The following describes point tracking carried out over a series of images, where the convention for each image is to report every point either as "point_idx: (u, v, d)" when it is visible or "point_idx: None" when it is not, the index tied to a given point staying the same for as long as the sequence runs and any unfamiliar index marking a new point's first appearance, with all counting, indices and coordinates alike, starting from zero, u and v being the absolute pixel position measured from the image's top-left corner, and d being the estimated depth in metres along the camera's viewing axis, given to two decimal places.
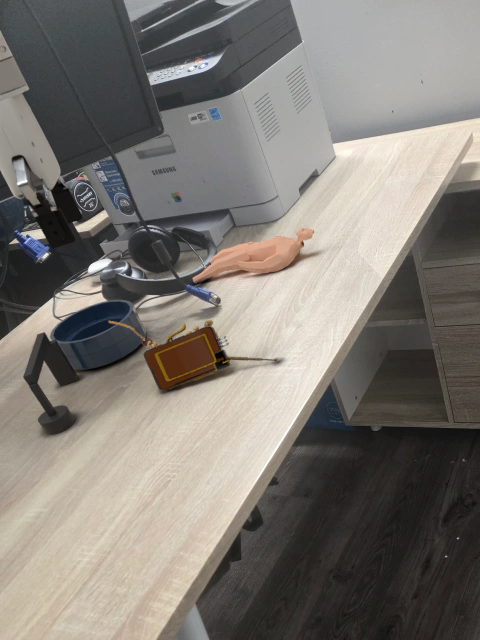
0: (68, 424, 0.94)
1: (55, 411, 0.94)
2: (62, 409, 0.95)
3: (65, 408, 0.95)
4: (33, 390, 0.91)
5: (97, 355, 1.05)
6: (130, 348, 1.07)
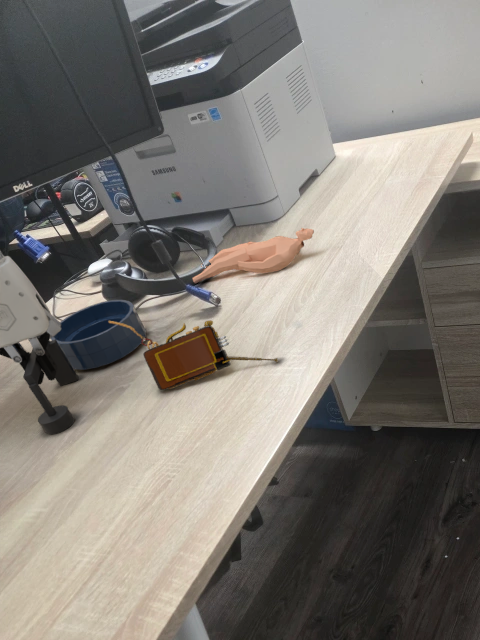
0: (68, 424, 0.94)
1: (55, 411, 0.94)
2: (61, 409, 0.95)
3: (65, 408, 0.95)
4: (33, 390, 0.91)
5: (97, 355, 1.05)
6: (130, 348, 1.07)
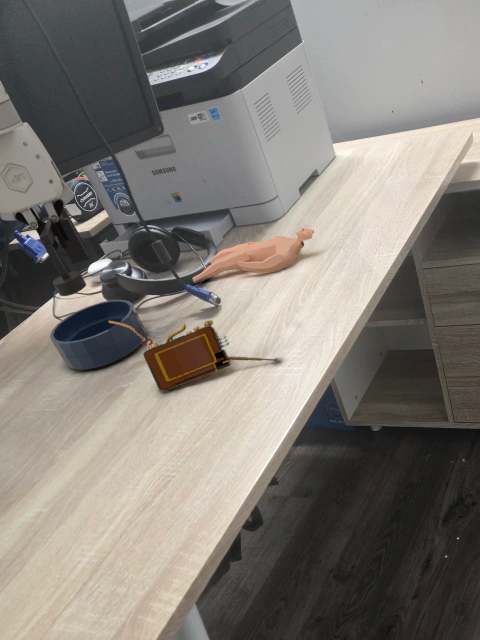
0: (80, 287, 1.02)
1: (68, 275, 1.02)
2: (74, 273, 1.03)
3: (78, 272, 1.03)
4: (48, 251, 0.99)
5: (97, 355, 1.05)
6: (130, 348, 1.07)
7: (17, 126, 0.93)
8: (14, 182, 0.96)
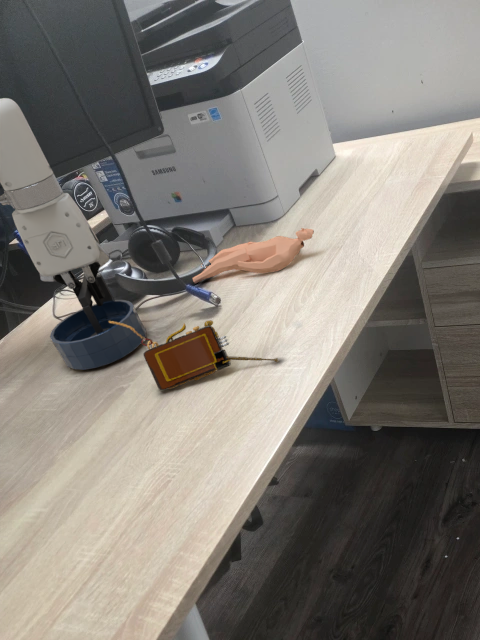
0: None
1: None
2: None
3: None
4: (86, 311, 1.05)
5: (97, 355, 1.05)
6: (130, 348, 1.07)
7: (60, 198, 0.99)
8: (55, 248, 1.02)
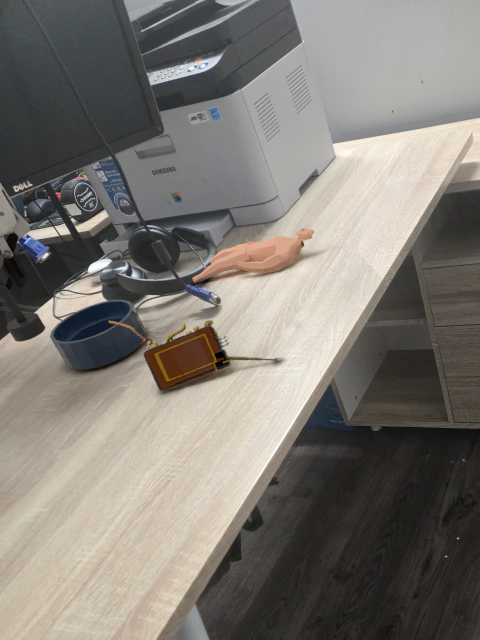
0: (38, 331, 0.91)
1: (25, 317, 0.91)
2: (32, 316, 0.91)
3: (35, 315, 0.91)
4: (1, 292, 0.87)
5: (97, 355, 1.05)
6: (130, 348, 1.07)
7: None
8: None
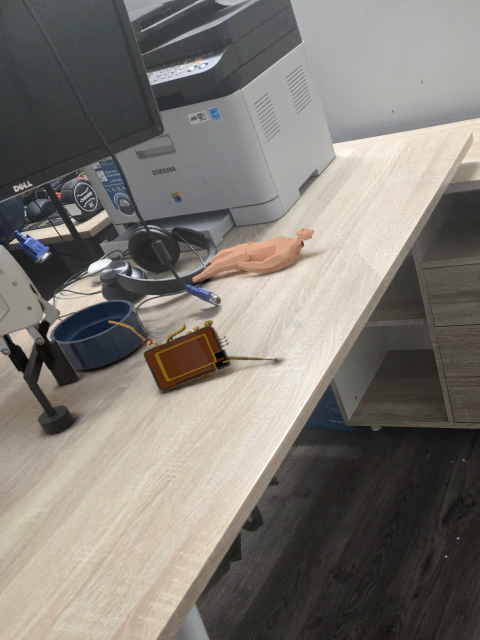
0: (68, 424, 0.94)
1: (55, 411, 0.94)
2: (61, 409, 0.95)
3: (65, 408, 0.95)
4: (33, 390, 0.91)
5: (97, 355, 1.05)
6: (130, 348, 1.07)
7: None
8: None
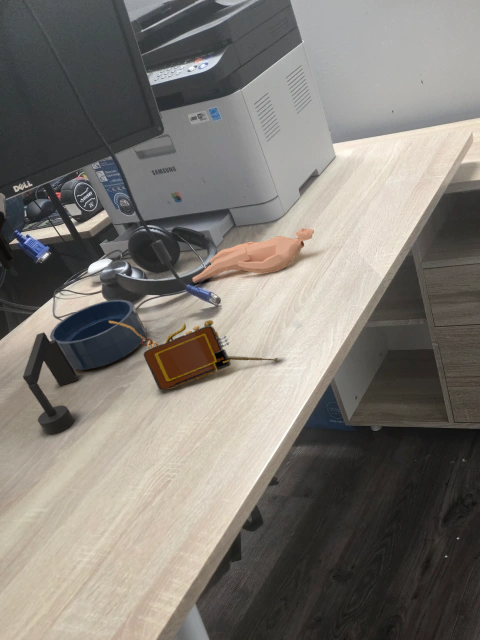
0: (68, 424, 0.94)
1: (55, 411, 0.94)
2: (61, 409, 0.95)
3: (65, 408, 0.95)
4: (33, 390, 0.91)
5: (97, 355, 1.05)
6: (130, 348, 1.07)
7: None
8: None
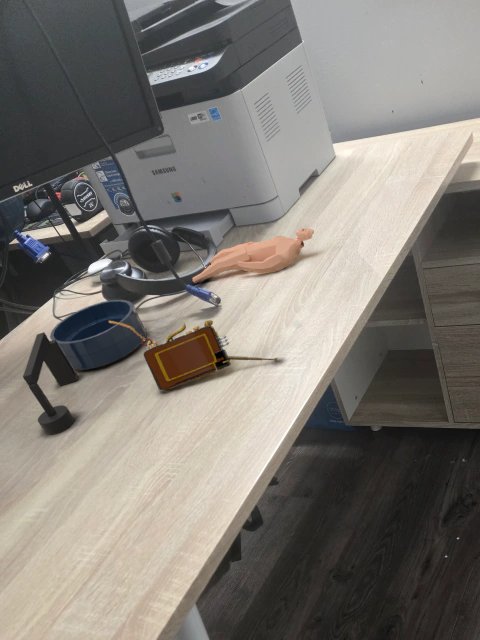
0: (68, 424, 0.94)
1: (55, 411, 0.94)
2: (61, 409, 0.95)
3: (65, 408, 0.95)
4: (33, 390, 0.91)
5: (97, 355, 1.05)
6: (130, 348, 1.07)
7: None
8: None
